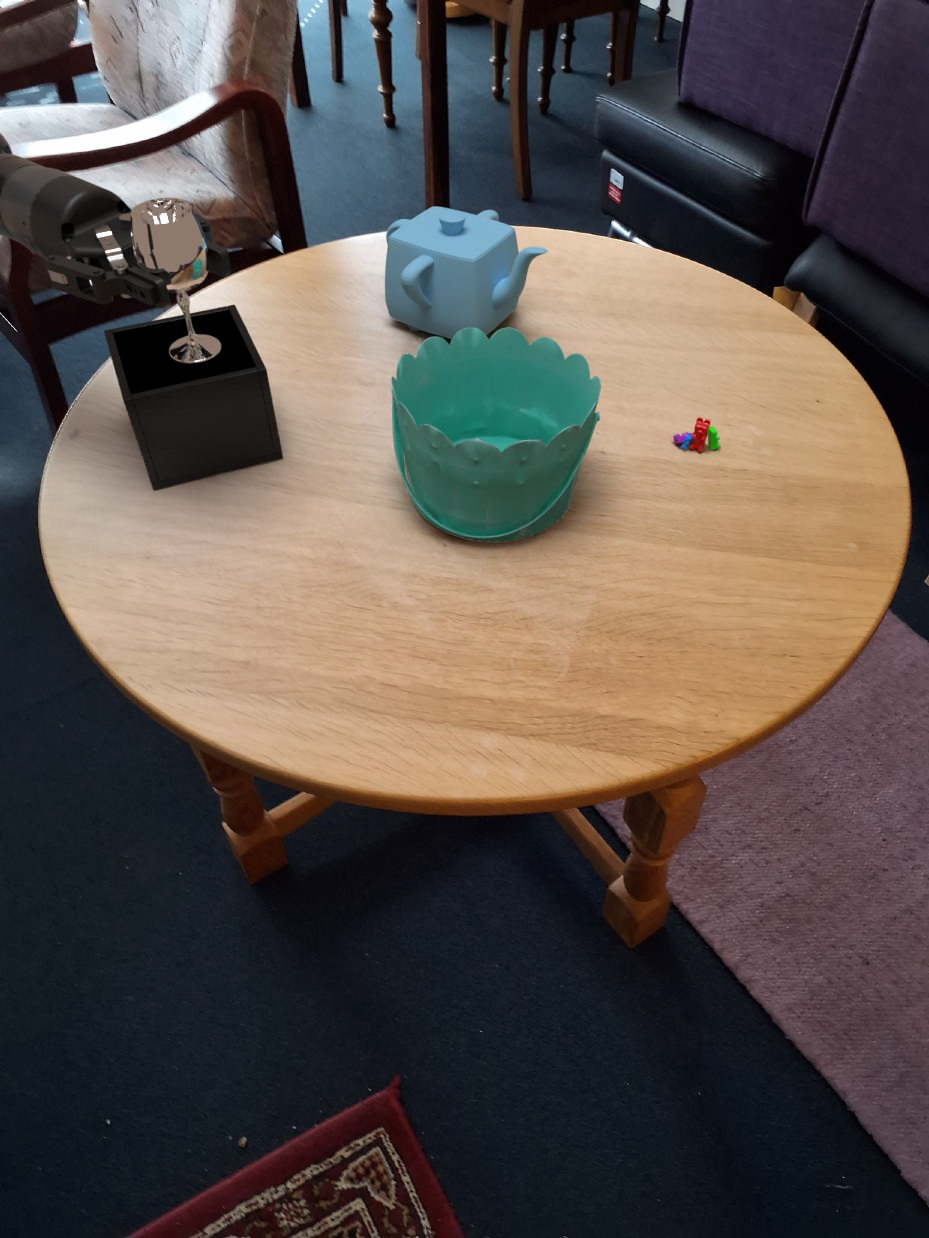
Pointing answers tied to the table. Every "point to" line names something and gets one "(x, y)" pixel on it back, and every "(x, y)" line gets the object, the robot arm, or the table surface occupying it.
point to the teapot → (454, 271)
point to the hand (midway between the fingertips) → (196, 279)
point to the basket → (492, 432)
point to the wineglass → (174, 263)
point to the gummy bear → (699, 436)
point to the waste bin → (195, 398)
